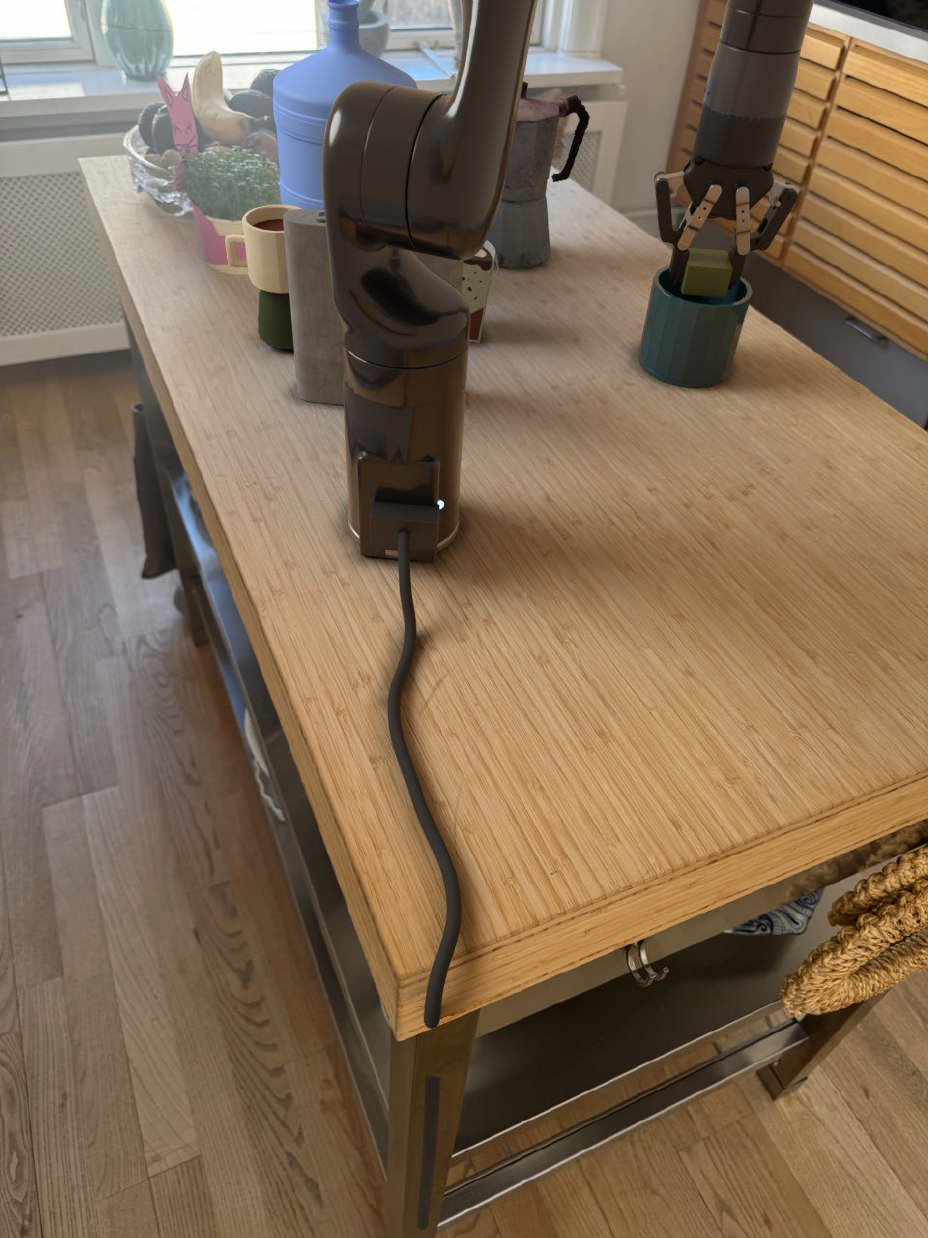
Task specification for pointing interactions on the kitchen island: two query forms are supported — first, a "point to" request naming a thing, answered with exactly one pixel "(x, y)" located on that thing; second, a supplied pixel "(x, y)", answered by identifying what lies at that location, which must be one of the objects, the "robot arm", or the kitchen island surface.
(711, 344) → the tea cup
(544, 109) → the moka pot
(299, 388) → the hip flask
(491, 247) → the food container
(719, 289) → the olive green cube
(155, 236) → the kitchen island surface
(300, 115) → the water jug
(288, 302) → the character mug
